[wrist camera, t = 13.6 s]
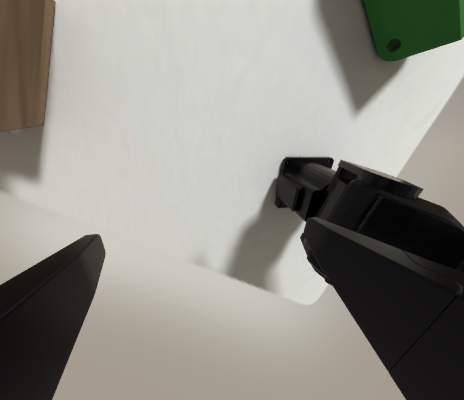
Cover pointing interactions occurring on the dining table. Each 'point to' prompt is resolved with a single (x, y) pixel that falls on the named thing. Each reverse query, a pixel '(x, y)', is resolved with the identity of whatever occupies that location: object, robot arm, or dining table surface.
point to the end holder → (24, 61)
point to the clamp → (414, 25)
